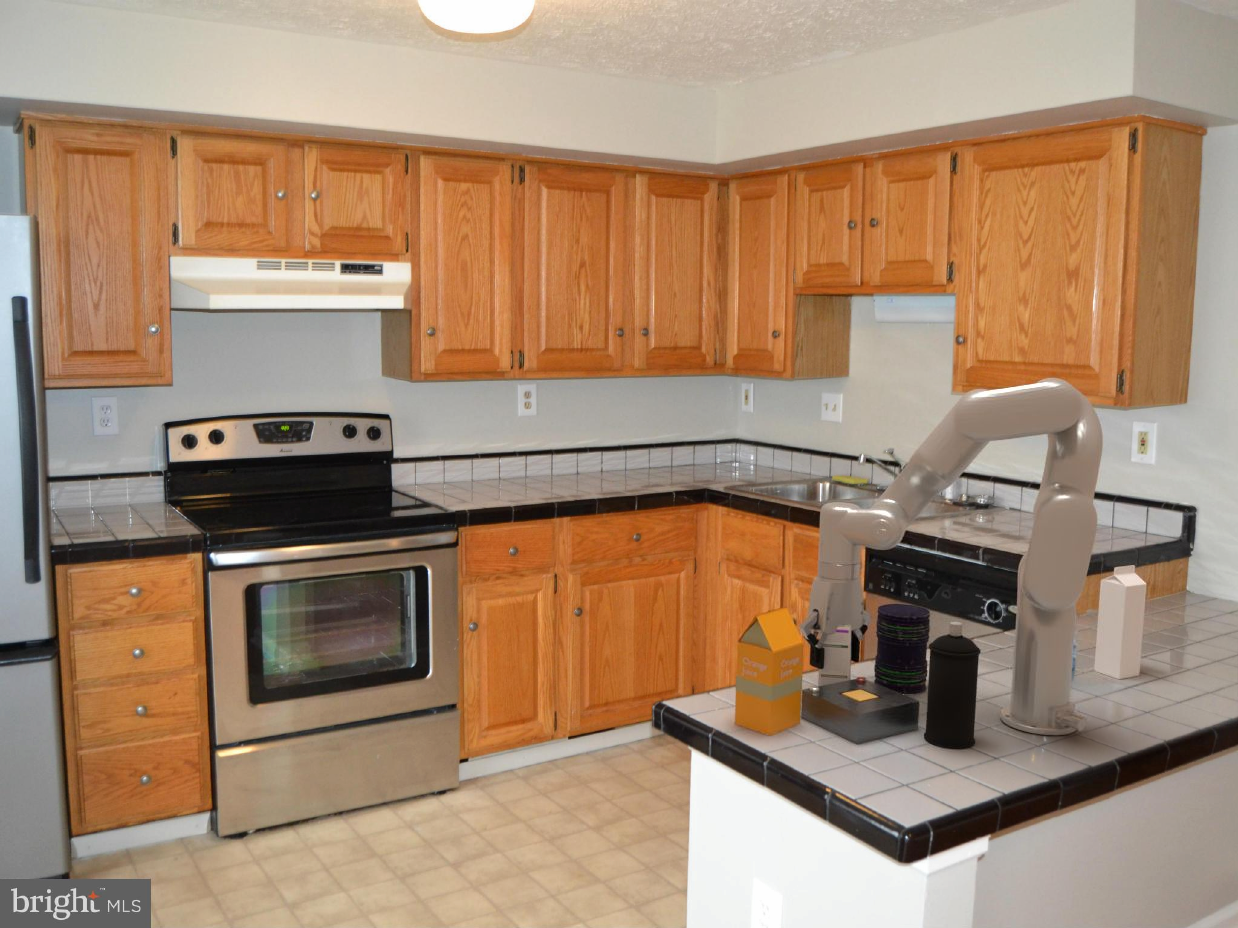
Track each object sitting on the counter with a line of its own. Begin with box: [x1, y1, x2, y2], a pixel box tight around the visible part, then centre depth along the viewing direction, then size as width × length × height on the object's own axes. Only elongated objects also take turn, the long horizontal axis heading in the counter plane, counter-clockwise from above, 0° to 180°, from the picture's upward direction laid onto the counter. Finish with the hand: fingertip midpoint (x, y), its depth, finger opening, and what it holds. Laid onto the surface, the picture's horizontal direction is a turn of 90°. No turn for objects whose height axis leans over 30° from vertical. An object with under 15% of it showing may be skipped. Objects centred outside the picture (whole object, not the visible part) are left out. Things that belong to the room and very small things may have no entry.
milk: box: [1093, 564, 1148, 680], centre depth 216 cm, size 6×6×22 cm
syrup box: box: [817, 624, 852, 687], centre depth 199 cm, size 6×6×14 cm
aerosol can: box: [923, 621, 981, 750], centre depth 179 cm, size 8×8×20 cm
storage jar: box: [873, 603, 931, 695], centre depth 206 cm, size 10×10×15 cm
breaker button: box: [842, 689, 879, 703], centre depth 187 cm, size 4×4×3 cm
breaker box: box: [800, 676, 921, 745], centre depth 187 cm, size 14×14×6 cm
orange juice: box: [734, 606, 804, 737], centre depth 185 cm, size 8×9×20 cm
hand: (834, 663), depth 199 cm, fingers closed on syrup box, 8 cm apart
